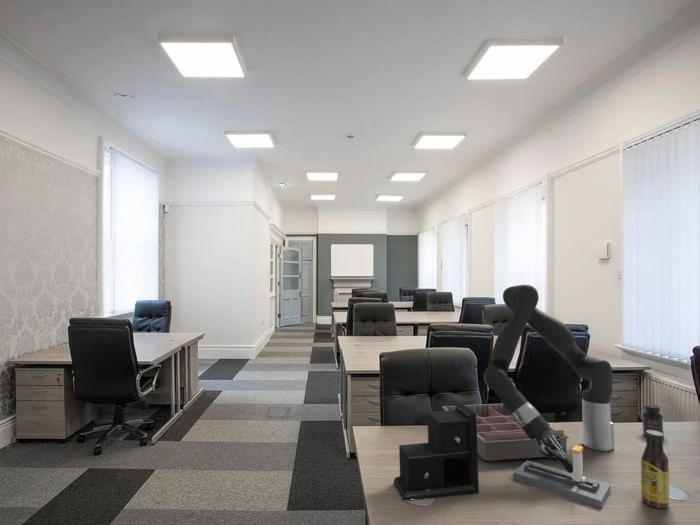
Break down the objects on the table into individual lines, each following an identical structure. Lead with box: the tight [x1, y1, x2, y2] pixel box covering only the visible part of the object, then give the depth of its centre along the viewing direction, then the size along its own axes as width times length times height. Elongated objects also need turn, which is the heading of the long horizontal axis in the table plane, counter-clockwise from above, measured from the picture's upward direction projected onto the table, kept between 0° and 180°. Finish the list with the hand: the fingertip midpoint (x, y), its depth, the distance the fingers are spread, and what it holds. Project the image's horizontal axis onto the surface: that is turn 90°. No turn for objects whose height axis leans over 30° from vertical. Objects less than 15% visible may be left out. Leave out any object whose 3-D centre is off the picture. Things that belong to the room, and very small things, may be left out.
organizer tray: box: [441, 403, 570, 462], centre depth 157 cm, size 32×40×10 cm
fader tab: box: [571, 444, 586, 484], centre depth 119 cm, size 4×4×10 cm
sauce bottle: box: [640, 430, 670, 509], centre depth 112 cm, size 7×6×20 cm
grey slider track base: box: [513, 460, 612, 509], centre depth 122 cm, size 24×12×4 cm, turn 46°
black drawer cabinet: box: [393, 402, 480, 501], centre depth 121 cm, size 23×11×24 cm, turn 100°
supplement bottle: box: [641, 404, 665, 437], centre depth 161 cm, size 7×7×12 cm
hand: (573, 471), depth 120 cm, fingers closed
